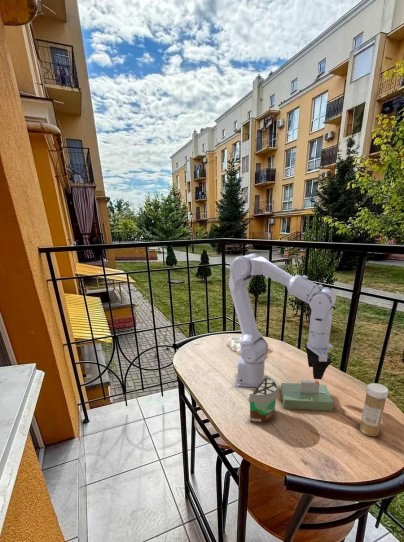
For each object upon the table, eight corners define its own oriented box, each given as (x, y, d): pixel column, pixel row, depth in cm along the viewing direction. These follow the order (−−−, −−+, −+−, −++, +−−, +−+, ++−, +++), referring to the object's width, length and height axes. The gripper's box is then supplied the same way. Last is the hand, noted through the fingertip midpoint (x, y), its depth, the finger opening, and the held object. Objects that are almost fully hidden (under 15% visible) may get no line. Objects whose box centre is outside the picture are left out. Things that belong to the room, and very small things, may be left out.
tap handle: (300, 392, 87) (301, 381, 86) (300, 390, 88) (301, 379, 87) (318, 393, 86) (319, 382, 85) (317, 391, 88) (318, 380, 86)
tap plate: (283, 408, 85) (284, 399, 84) (280, 390, 94) (281, 382, 93) (332, 411, 83) (334, 402, 82) (324, 392, 92) (325, 384, 91)
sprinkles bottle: (382, 432, 74) (392, 388, 69) (373, 439, 71) (383, 394, 67) (364, 423, 77) (373, 380, 72) (355, 429, 75) (363, 386, 70)
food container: (269, 432, 75) (271, 400, 72) (248, 425, 79) (248, 394, 75) (283, 408, 85) (285, 379, 82) (263, 402, 88) (265, 374, 85)
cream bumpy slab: (272, 351, 124) (246, 360, 117) (246, 339, 138) (221, 346, 132) (272, 344, 123) (246, 352, 116) (246, 333, 137) (221, 339, 130)
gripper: (341, 340, 74) (335, 385, 79) (327, 323, 87) (322, 362, 92) (313, 340, 75) (308, 384, 80) (304, 322, 88) (300, 361, 93)
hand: (314, 372), depth 86 cm, fingers open, 7 cm apart
